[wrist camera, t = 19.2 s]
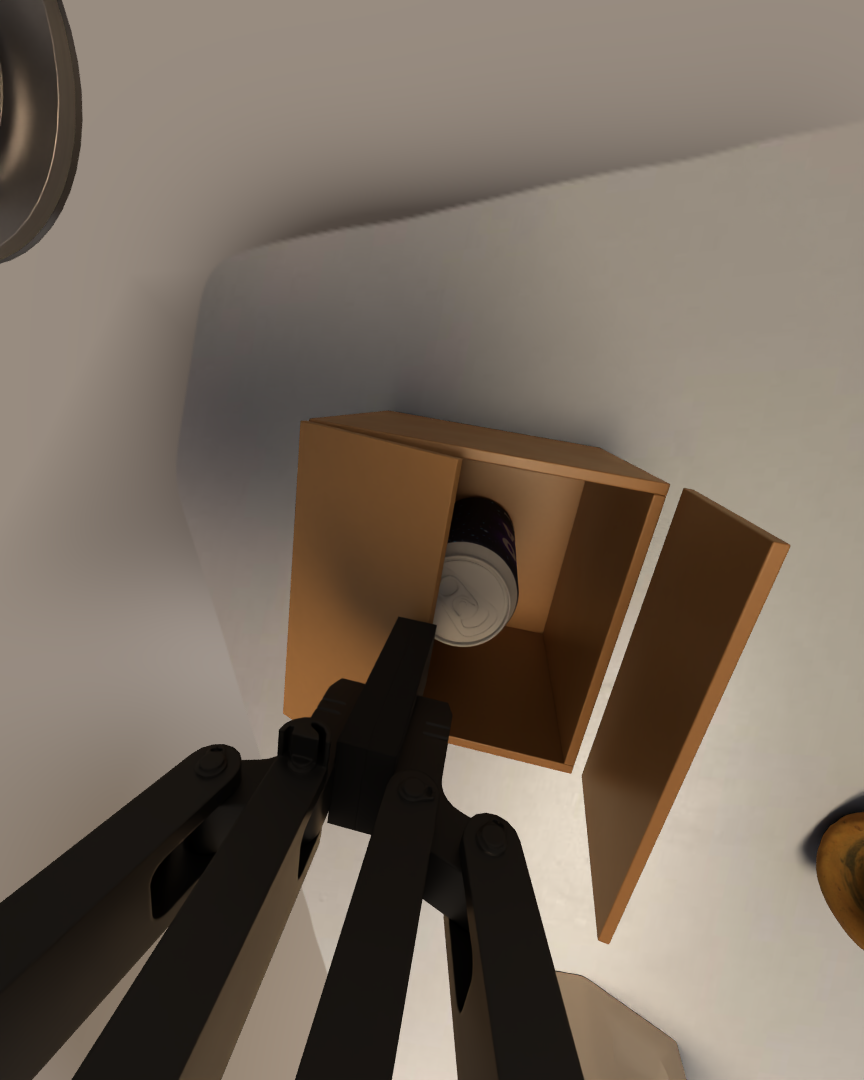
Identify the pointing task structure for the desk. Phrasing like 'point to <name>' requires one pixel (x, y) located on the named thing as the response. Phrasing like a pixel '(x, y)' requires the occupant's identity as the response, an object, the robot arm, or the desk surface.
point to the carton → (596, 628)
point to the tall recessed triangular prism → (615, 1036)
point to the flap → (360, 553)
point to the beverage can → (477, 575)
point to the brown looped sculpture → (844, 873)
